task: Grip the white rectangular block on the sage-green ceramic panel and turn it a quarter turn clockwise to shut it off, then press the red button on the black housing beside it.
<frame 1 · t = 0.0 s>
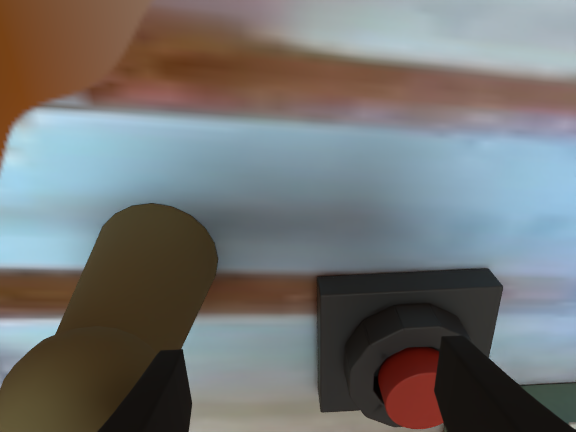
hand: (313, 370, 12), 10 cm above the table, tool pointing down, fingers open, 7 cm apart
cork: (158, 256, 23), on the table
button: (418, 387, 21), point 4 cm above the table, slide at 0.1 cm
button housing: (397, 332, 25), on the table
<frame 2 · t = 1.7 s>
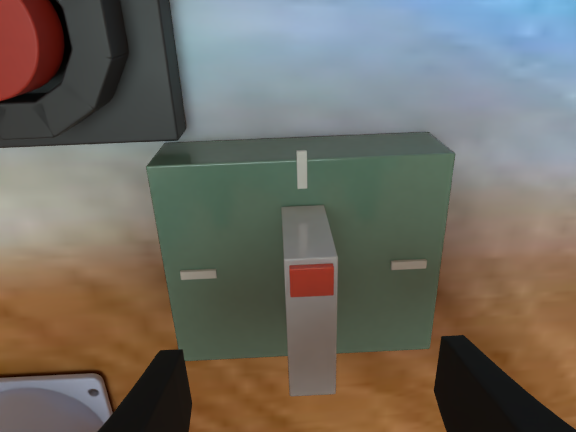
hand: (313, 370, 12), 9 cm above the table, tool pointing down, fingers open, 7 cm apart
white rectangular block: (307, 299, 16), point 5 cm above the table, hinge at 0.0°
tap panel: (299, 233, 20), on the table
button housing: (49, 27, 16), on the table
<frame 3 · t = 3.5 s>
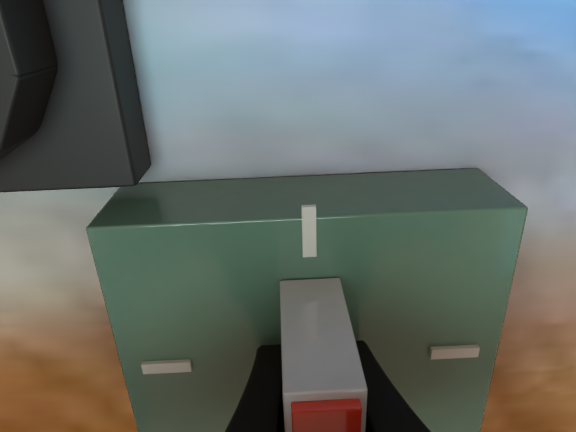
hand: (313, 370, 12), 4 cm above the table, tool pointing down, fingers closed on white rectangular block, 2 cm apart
white rectangular block: (317, 416, 11), point 5 cm above the table, hinge at 0.0°, touching gripper
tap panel: (304, 296, 16), on the table
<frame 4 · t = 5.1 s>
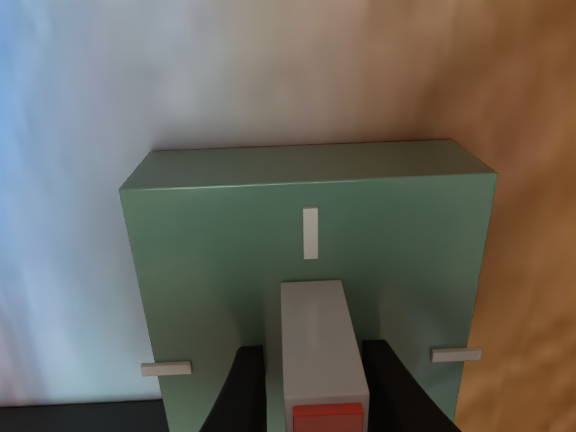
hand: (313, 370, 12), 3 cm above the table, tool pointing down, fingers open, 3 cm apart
white rectangular block: (318, 420, 11), point 5 cm above the table, hinge at -89.9°
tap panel: (304, 297, 16), on the table
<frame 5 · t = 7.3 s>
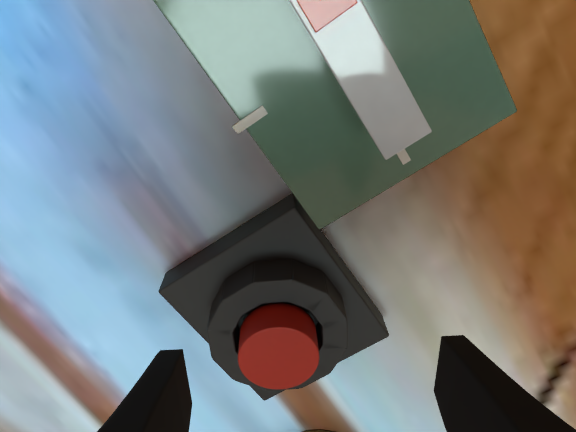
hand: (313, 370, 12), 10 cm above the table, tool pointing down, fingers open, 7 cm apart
white rectangular block: (353, 60, 14), point 5 cm above the table, hinge at -89.9°
button: (278, 346, 20), point 4 cm above the table, slide at 0.1 cm
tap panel: (333, 47, 19), on the table
button housing: (277, 295, 24), on the table
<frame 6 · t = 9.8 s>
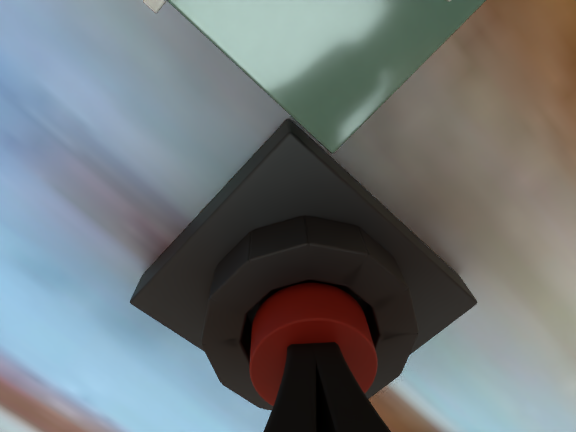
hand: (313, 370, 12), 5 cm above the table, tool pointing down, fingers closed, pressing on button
button: (311, 349, 13), point 4 cm above the table, slide at 0.1 cm, touching gripper
button housing: (303, 276, 17), on the table
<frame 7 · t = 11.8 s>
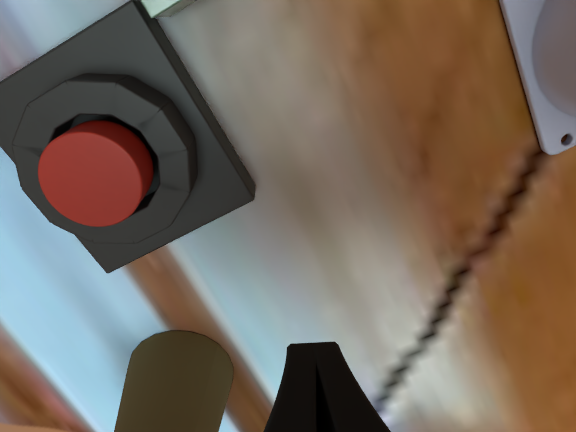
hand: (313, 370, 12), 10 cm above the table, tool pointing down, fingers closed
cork: (182, 369, 26), on the table
button: (98, 173, 16), point 4 cm above the table, slide at 0.1 cm
button housing: (129, 143, 20), on the table
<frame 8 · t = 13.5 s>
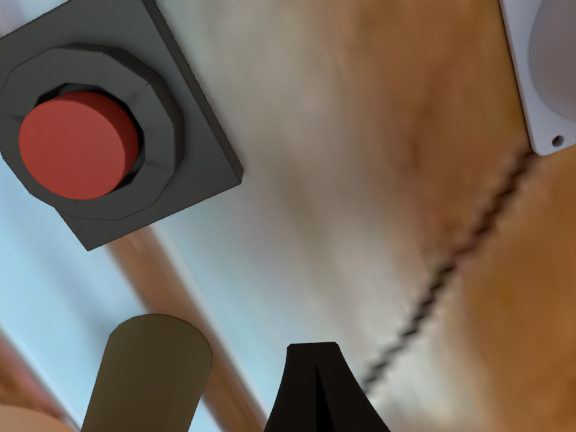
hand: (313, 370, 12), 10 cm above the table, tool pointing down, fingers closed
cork: (160, 354, 26), on the table
button: (82, 145, 16), point 4 cm above the table, slide at 0.1 cm
button housing: (117, 119, 20), on the table
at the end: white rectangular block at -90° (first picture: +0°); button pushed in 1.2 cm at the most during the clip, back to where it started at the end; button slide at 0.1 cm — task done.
